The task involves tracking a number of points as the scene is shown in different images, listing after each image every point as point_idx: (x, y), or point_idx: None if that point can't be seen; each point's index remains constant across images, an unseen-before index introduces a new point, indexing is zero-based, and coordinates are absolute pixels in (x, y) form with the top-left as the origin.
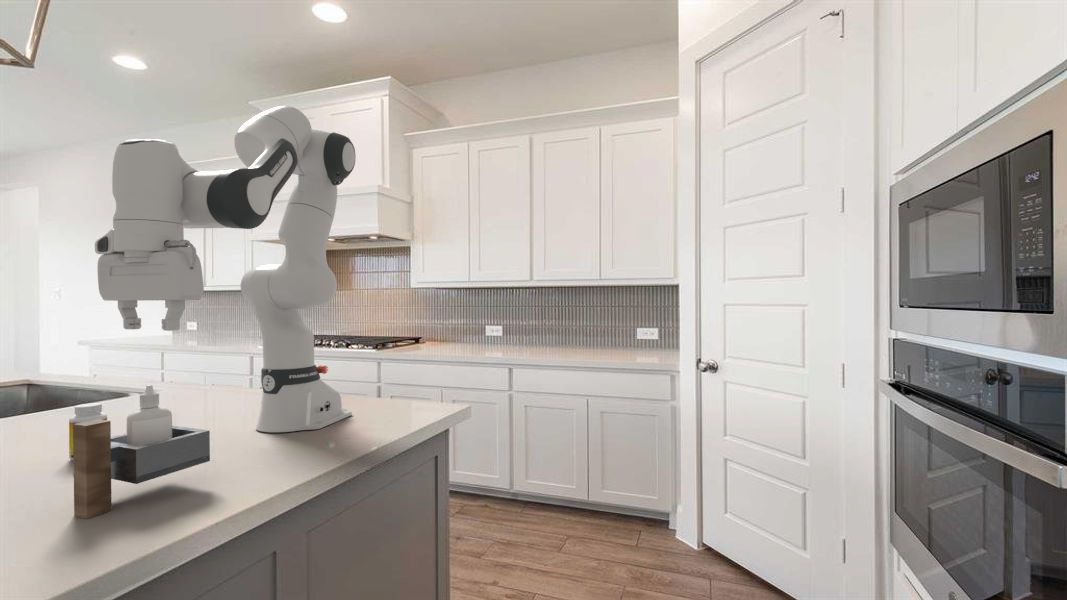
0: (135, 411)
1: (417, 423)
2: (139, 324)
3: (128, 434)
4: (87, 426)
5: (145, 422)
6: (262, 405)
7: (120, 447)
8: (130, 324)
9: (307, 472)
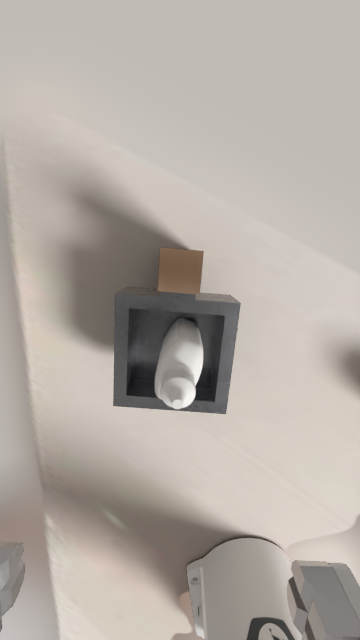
0: (189, 357)
1: (74, 615)
2: (297, 622)
3: (185, 330)
4: (160, 251)
5: (164, 351)
6: (279, 591)
7: (156, 296)
8: (308, 591)
9: (55, 432)
